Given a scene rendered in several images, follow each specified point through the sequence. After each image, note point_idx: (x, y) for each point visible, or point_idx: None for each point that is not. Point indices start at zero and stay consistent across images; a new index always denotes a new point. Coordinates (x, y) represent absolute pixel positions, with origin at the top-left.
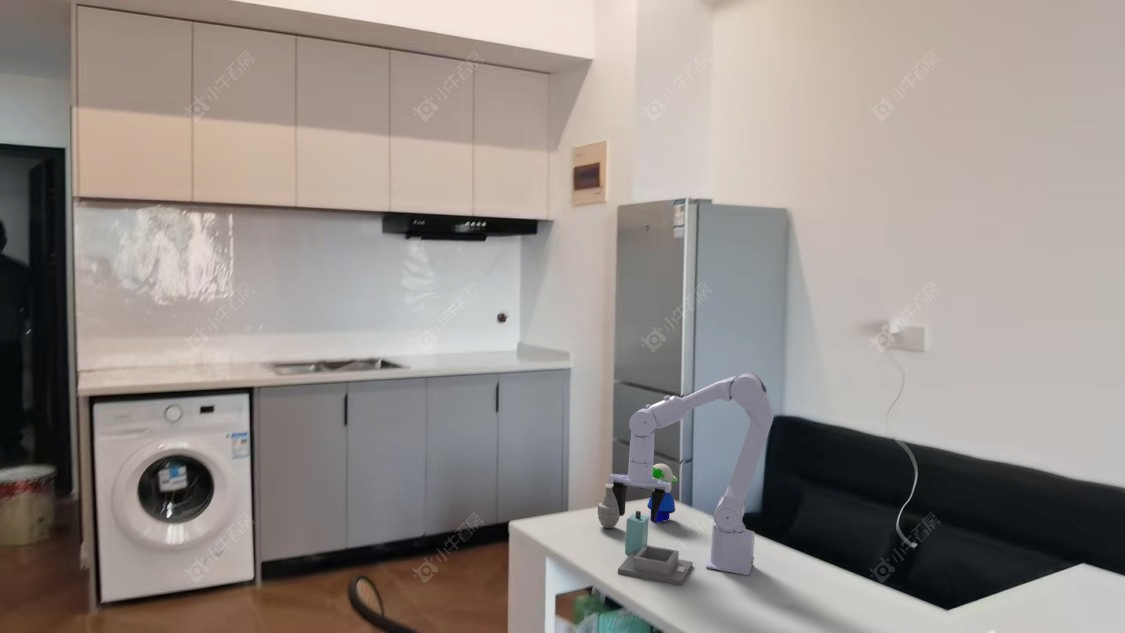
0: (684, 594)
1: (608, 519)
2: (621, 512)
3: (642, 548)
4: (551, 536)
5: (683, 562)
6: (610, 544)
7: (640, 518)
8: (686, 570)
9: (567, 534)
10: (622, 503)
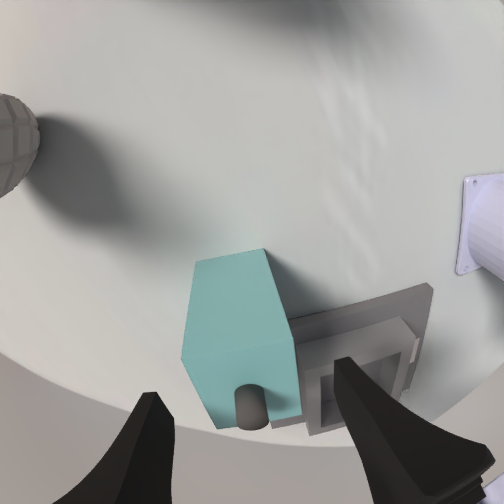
0: (409, 397)
1: (14, 185)
2: (170, 437)
3: (309, 393)
4: (6, 331)
5: (412, 310)
6: (130, 292)
7: (264, 389)
8: (419, 345)
9: (7, 296)
10: (164, 474)
